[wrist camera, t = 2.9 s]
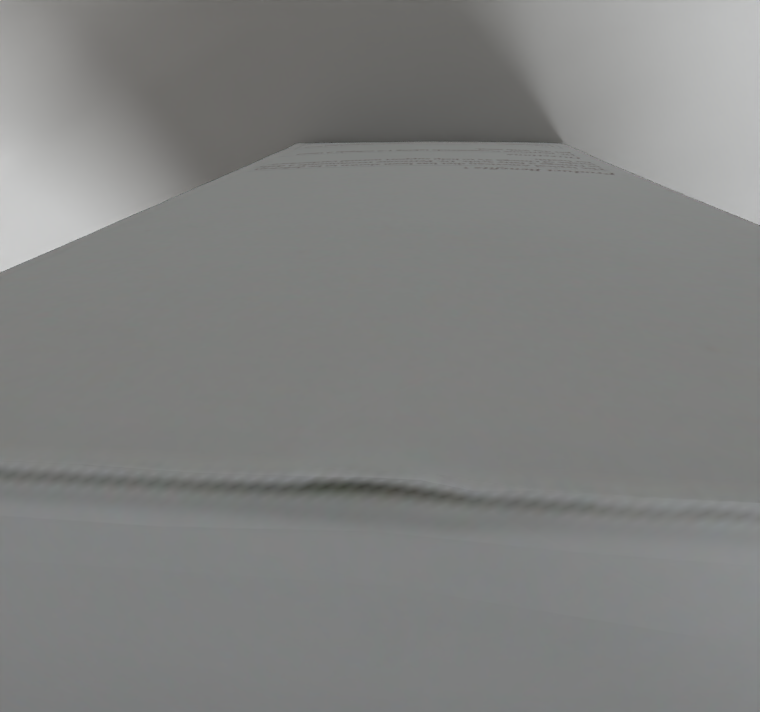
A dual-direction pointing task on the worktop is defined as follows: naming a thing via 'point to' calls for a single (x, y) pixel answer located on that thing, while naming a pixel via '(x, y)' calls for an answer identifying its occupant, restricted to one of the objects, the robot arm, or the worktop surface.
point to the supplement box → (387, 444)
